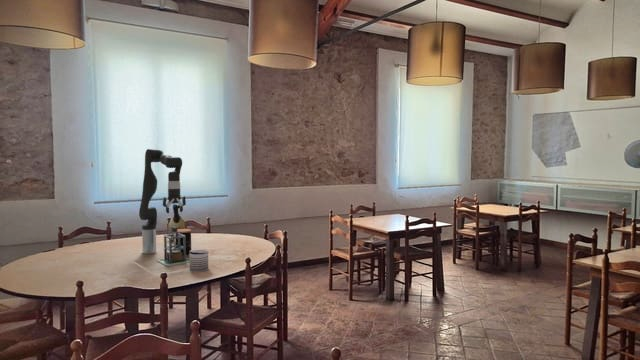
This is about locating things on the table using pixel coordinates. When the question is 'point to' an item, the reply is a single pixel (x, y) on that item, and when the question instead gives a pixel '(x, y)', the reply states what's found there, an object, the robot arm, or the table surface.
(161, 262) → the tray
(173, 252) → the plunger
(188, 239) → the coffee jar
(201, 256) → the can
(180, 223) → the ceramic jug
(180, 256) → the press frame
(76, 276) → the table surface
